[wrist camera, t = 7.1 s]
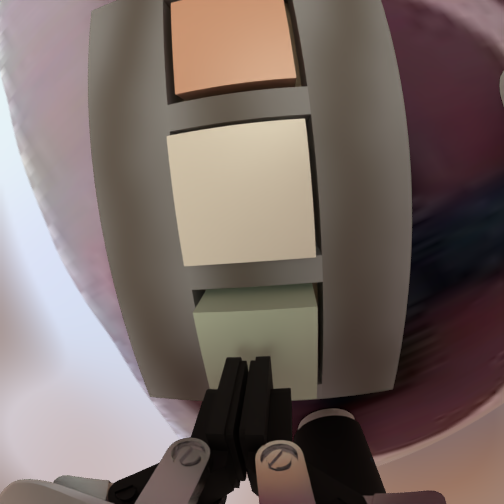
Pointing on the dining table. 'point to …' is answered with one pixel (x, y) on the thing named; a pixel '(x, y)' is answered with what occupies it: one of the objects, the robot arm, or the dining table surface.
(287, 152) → the key cream
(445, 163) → the dining table surface
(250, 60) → the key terracotta
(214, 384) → the key sage
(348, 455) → the dixie cup
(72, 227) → the dining table surface
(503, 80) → the chalice
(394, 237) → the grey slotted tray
